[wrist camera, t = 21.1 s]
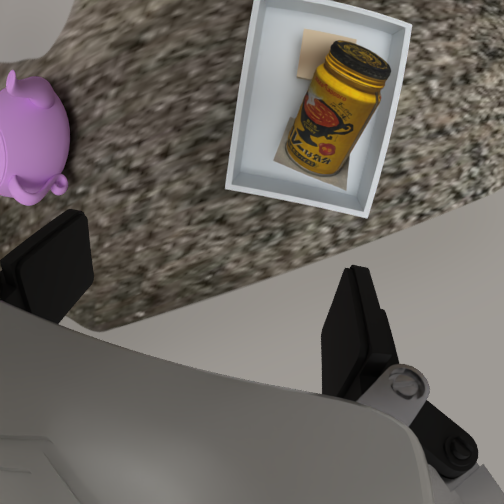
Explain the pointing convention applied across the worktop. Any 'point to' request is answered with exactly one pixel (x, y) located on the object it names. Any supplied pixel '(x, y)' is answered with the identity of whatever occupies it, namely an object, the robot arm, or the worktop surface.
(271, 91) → the tote
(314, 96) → the condiment
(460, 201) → the worktop surface
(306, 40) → the cube
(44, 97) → the teapot
